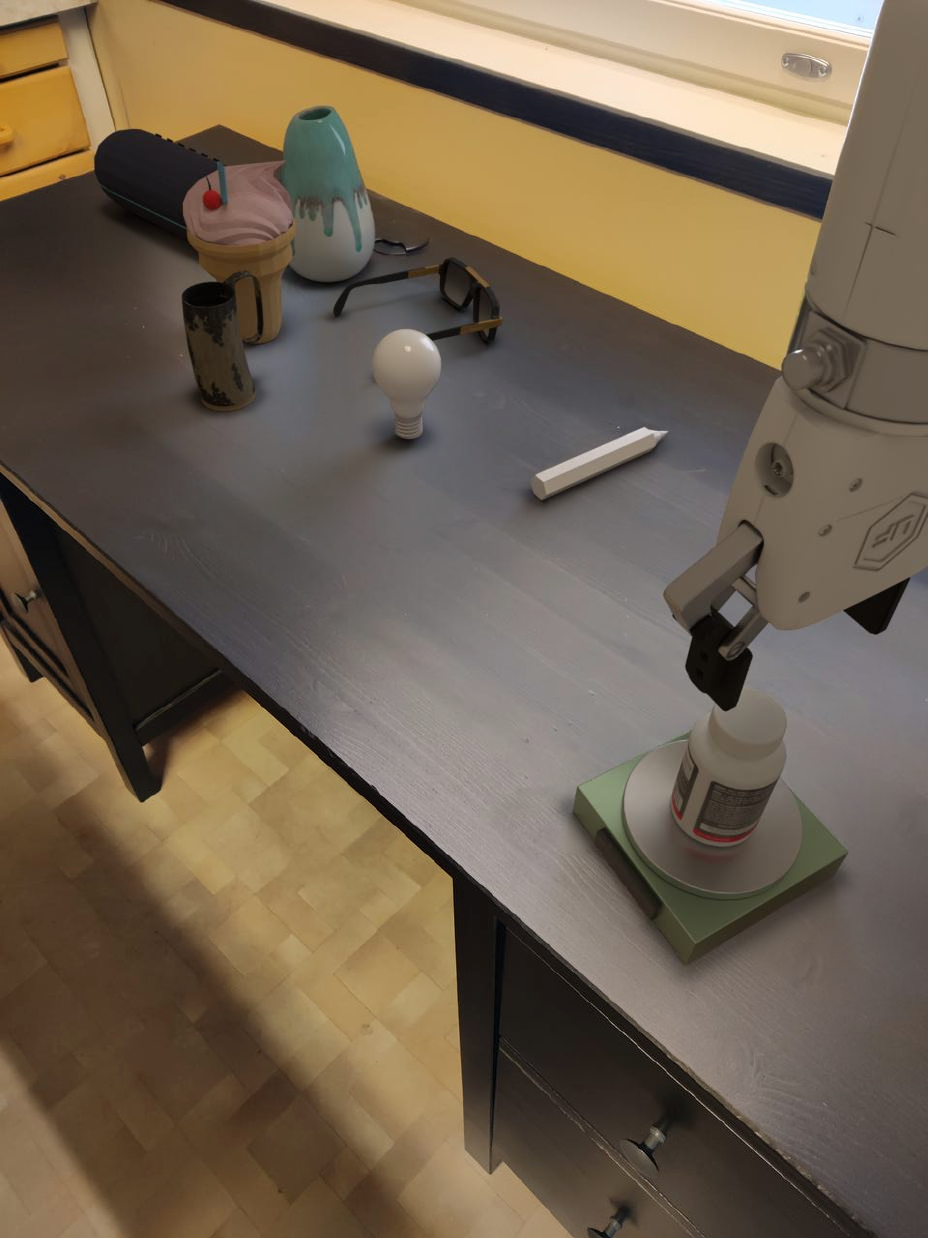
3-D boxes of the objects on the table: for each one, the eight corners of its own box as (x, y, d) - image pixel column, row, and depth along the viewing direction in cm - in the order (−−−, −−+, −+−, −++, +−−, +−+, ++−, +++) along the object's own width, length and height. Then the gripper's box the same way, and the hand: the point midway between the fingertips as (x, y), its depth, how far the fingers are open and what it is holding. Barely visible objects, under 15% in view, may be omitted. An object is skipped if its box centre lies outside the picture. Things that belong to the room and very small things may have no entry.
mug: (214, 418, 92) (189, 305, 83) (190, 392, 95) (164, 281, 86) (285, 392, 95) (269, 281, 86) (260, 368, 98) (241, 258, 89)
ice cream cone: (318, 350, 101) (296, 157, 86) (216, 367, 98) (176, 171, 84) (296, 302, 108) (273, 116, 93) (201, 317, 105) (161, 128, 91)
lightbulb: (411, 409, 93) (407, 308, 85) (455, 436, 90) (456, 334, 82) (362, 435, 90) (354, 332, 82) (406, 464, 87) (402, 361, 79)
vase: (263, 281, 111) (239, 120, 98) (311, 241, 118) (294, 86, 105) (350, 300, 108) (336, 137, 95) (393, 258, 115) (386, 101, 102)
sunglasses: (333, 316, 106) (329, 274, 102) (453, 289, 110) (454, 248, 107) (380, 378, 97) (378, 334, 93) (509, 345, 102) (511, 303, 98)
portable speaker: (278, 246, 117) (267, 163, 110) (215, 273, 112) (199, 189, 105) (159, 189, 129) (141, 111, 121) (96, 212, 123) (74, 132, 116)
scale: (712, 739, 66) (721, 714, 64) (834, 875, 59) (849, 852, 57) (566, 813, 62) (570, 789, 59) (679, 969, 55) (689, 948, 52)
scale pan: (720, 722, 63) (723, 714, 63) (837, 848, 57) (841, 842, 56) (587, 788, 60) (588, 781, 59) (696, 932, 53) (699, 926, 52)
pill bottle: (774, 812, 58) (820, 716, 50) (723, 866, 55) (764, 774, 48) (702, 759, 60) (736, 661, 53) (651, 809, 58) (680, 713, 50)
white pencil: (666, 445, 91) (538, 503, 84) (655, 427, 91) (527, 483, 85) (680, 432, 88) (550, 491, 82) (669, 414, 89) (538, 470, 82)
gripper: (791, 473, 29) (697, 779, 41) (1142, 328, 35) (966, 635, 47) (645, 361, 33) (600, 668, 46) (976, 249, 39) (856, 549, 52)
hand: (785, 651), depth 46 cm, fingers open, 9 cm apart
